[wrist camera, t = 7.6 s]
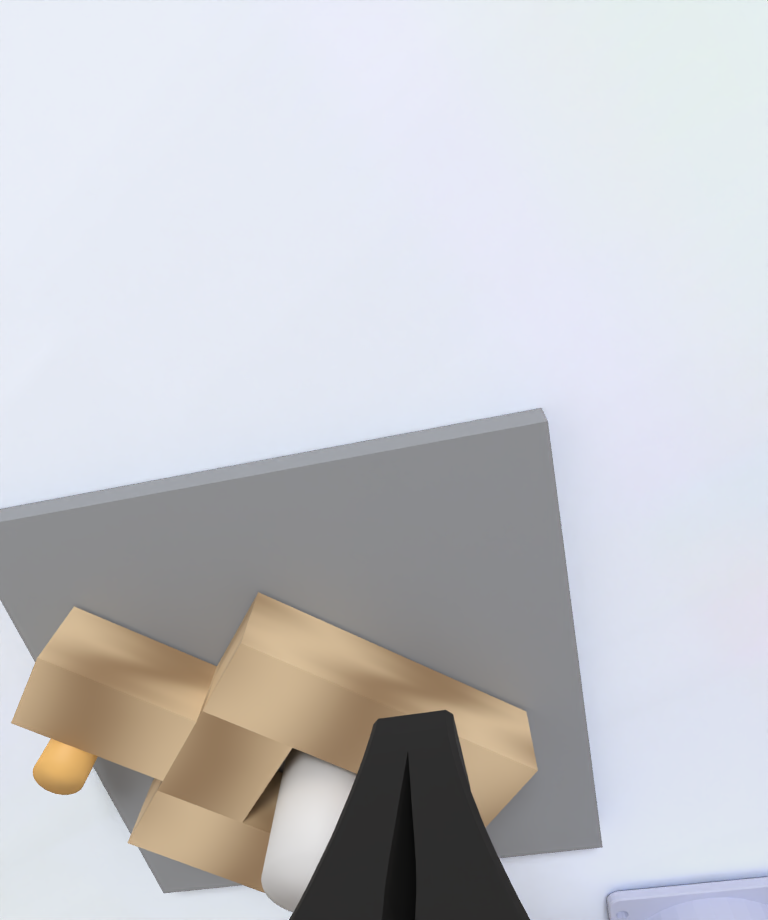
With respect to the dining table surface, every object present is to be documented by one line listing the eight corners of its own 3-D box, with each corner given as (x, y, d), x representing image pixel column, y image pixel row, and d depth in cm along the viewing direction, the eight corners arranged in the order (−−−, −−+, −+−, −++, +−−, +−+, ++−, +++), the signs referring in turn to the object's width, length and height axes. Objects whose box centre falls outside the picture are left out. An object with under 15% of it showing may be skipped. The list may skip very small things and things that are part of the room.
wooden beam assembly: (526, 711, 23) (537, 770, 21) (387, 872, 27) (385, 936, 25) (107, 524, 21) (72, 570, 19) (21, 733, 25) (-17, 790, 23)
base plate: (596, 823, 27) (641, 994, 22) (171, 870, 30) (117, 1035, 24) (541, 408, 20) (589, 511, 14) (-21, 513, 22) (-161, 636, 17)
